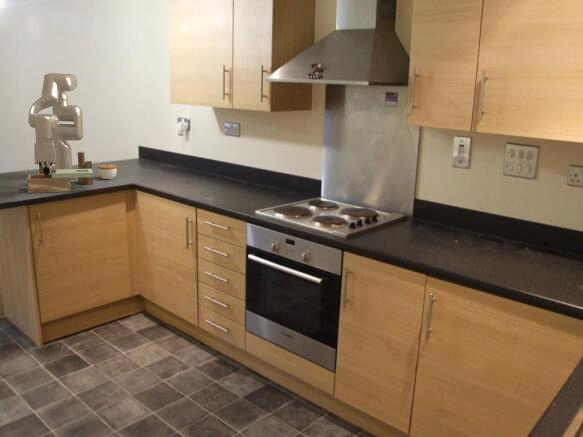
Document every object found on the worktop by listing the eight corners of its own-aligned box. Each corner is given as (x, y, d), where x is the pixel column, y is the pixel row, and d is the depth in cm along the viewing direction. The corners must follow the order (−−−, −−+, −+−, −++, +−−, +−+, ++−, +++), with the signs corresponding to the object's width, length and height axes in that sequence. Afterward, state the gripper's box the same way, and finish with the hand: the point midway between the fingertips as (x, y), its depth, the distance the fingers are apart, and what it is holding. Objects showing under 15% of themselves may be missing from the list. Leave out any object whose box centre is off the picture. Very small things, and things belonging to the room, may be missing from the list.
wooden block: (87, 186, 294) (85, 154, 289) (77, 183, 301) (75, 152, 296) (93, 186, 297) (91, 154, 292) (84, 182, 304) (82, 151, 299)
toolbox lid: (52, 174, 283) (51, 165, 282) (92, 173, 291) (91, 165, 290) (51, 178, 273) (51, 169, 272) (93, 177, 280) (92, 168, 279)
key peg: (40, 185, 292) (38, 156, 288) (48, 185, 294) (46, 156, 289) (40, 187, 288) (38, 157, 284) (48, 186, 290) (46, 157, 286)
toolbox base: (29, 189, 281) (28, 174, 279) (70, 188, 289) (69, 173, 287) (28, 194, 270) (27, 179, 268) (70, 192, 278) (69, 177, 276)
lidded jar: (102, 181, 311) (101, 165, 308) (95, 178, 318) (94, 162, 316) (120, 179, 318) (119, 163, 315) (112, 176, 325) (112, 161, 323)
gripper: (59, 139, 278) (62, 173, 283) (28, 139, 273) (31, 174, 278) (59, 140, 272) (62, 176, 276) (27, 140, 266) (30, 176, 271)
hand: (46, 175), depth 277 cm, fingers closed
